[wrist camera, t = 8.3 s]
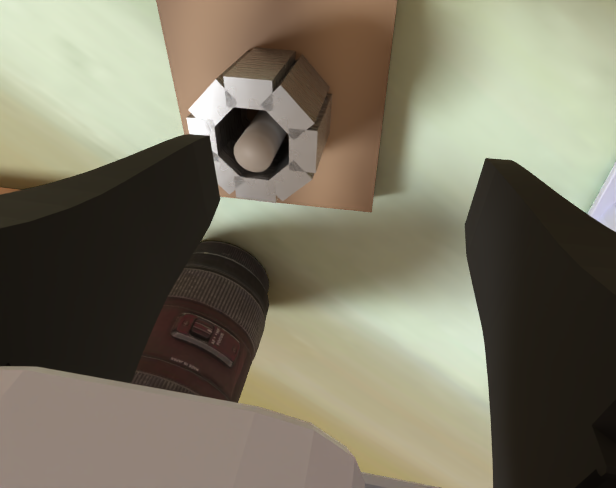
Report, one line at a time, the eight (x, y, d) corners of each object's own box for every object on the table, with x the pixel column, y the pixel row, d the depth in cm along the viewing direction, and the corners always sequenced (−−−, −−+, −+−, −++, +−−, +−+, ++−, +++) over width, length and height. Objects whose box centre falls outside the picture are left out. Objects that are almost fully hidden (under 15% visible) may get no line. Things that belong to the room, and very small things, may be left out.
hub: (334, 53, 17) (319, 84, 14) (327, 163, 20) (314, 208, 17) (217, 44, 18) (178, 72, 15) (229, 152, 21) (199, 193, 18)
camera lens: (151, 235, 28) (-17, 460, 17) (258, 227, 26) (146, 481, 15) (197, 312, 33) (90, 525, 22) (290, 311, 31) (224, 548, 19)
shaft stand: (398, -9, 16) (395, 19, 12) (373, 197, 23) (366, 261, 19) (170, -15, 18) (99, 9, 14) (206, 180, 24) (165, 237, 20)
